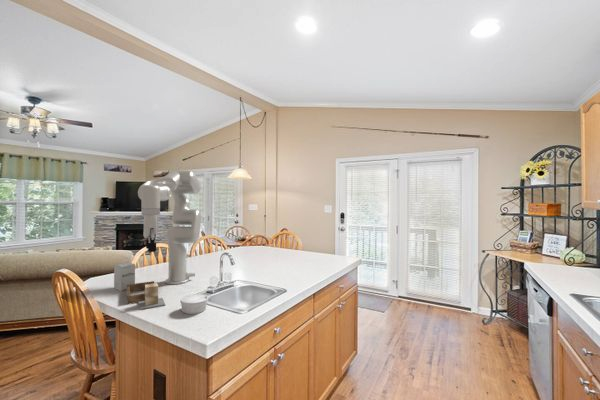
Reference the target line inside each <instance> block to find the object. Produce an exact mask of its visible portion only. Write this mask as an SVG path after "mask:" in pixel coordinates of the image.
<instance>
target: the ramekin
mask: <svg viewBox="0 0 600 400" xmlns="http://www.w3.org/2000/svg"><path fill="white" fill-rule="evenodd" d="M208 300H209V296H208V295H206V294H203V293H194V294H188V295H185V296H183V297H181V298H180V301H179V302H180V305H181V310H182V312H183V313H184V314H185V315H197V314H201V313H203V312H204V311H205V310H206V309H207V305H208Z"/></svg>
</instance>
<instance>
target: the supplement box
mask: <svg viewBox="0 0 600 400" xmlns="http://www.w3.org/2000/svg"><path fill="white" fill-rule="evenodd" d="M113 268H114V269H113V272H114V273H113V274H114V275H113V288H114V289H116V290H119V291H124V290H127V285H129V284H136V264H135V263H132V262H124V263H118V264H114V267H113Z"/></svg>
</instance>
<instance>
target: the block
mask: <svg viewBox="0 0 600 400" xmlns="http://www.w3.org/2000/svg"><path fill="white" fill-rule="evenodd" d="M144 293H145V305H146V306H147V305H153V304H158V298H159V284H158V282H154V284H147V285H145V290H144Z"/></svg>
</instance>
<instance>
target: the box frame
mask: <svg viewBox="0 0 600 400" xmlns="http://www.w3.org/2000/svg"><path fill="white" fill-rule="evenodd" d="M154 283H155V281H153V280H151V281H143V282H135V284H129V285H127V289H126V299H127V301H128V302H127V305H129V304H130V303H131V304H136V303H137V304H138V302H139V301H145V292H142V293H137V294H132V293H131V292H138V291H143V290H144V291H145V285H147V284H154ZM131 304H130V305H131Z"/></svg>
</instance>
